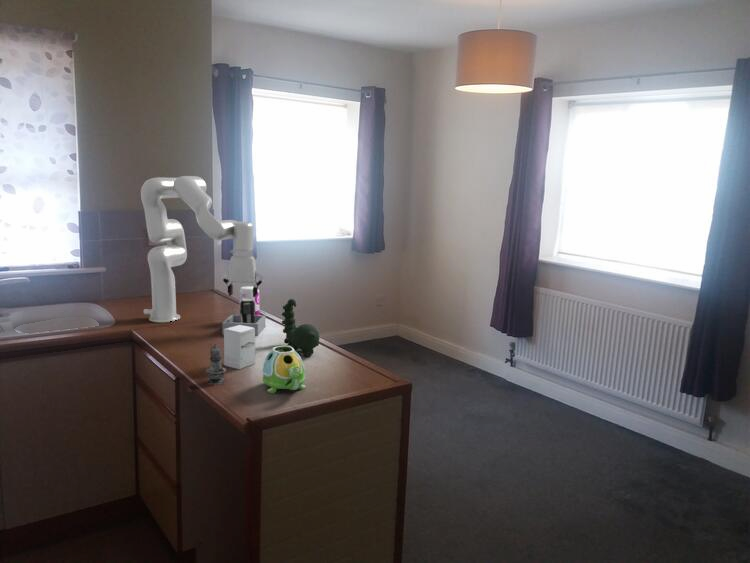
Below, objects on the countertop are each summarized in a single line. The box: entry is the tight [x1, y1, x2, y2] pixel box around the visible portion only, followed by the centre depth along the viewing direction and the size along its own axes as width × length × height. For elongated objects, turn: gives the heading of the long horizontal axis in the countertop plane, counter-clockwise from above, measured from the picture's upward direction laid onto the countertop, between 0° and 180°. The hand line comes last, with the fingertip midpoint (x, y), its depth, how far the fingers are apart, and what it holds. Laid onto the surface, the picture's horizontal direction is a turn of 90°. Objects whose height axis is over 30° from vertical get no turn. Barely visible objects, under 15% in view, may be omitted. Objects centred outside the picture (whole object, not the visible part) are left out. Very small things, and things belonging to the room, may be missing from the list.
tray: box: [221, 314, 267, 337], centre depth 234 cm, size 14×14×5 cm
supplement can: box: [239, 285, 260, 315], centre depth 247 cm, size 8×8×15 cm
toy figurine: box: [281, 298, 321, 357], centre depth 208 cm, size 9×19×25 cm
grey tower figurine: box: [205, 343, 227, 385], centre depth 176 cm, size 6×6×12 cm
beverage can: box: [239, 298, 255, 323], centre depth 234 cm, size 6×6×12 cm
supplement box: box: [223, 325, 256, 370], centre depth 192 cm, size 7×7×13 cm
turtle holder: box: [262, 345, 306, 394], centre depth 171 cm, size 12×18×12 cm
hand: (242, 295), depth 232 cm, fingers open, 9 cm apart
